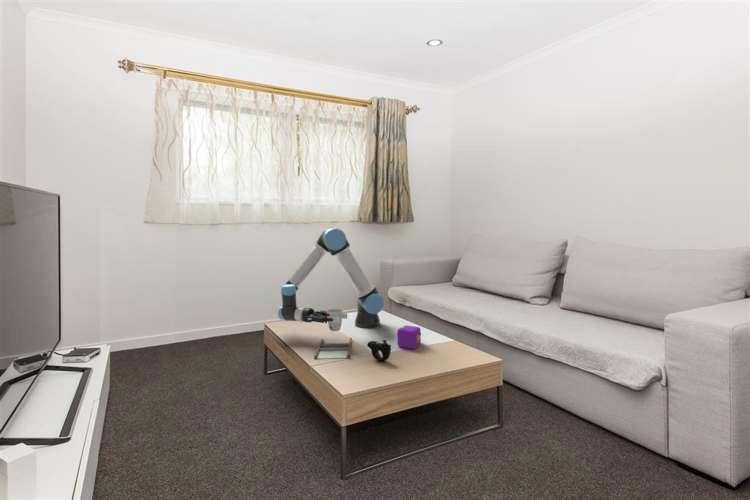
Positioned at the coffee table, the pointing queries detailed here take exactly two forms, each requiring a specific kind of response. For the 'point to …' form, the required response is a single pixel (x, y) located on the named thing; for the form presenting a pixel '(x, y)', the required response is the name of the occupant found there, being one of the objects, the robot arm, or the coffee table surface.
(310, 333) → the coffee table surface
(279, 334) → the coffee table surface
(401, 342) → the toy camera
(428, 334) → the coffee table surface
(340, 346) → the tray
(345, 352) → the pad
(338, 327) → the cup
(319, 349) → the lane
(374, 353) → the controller
